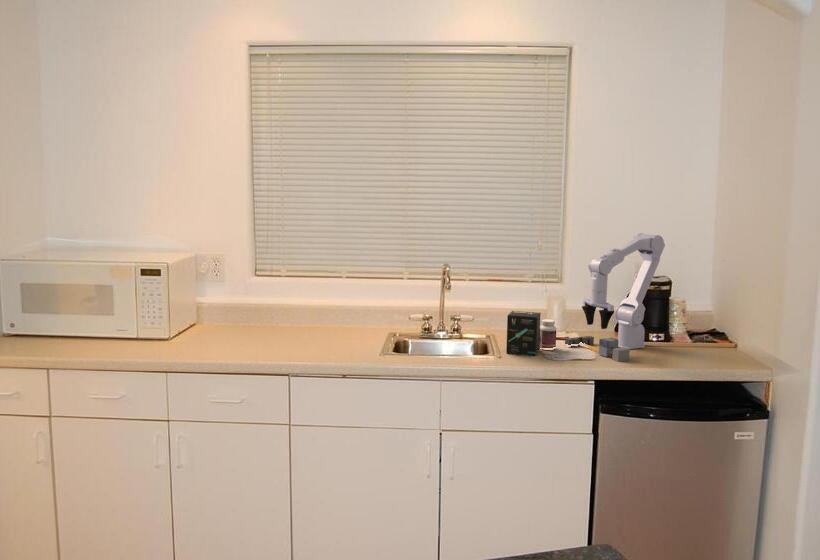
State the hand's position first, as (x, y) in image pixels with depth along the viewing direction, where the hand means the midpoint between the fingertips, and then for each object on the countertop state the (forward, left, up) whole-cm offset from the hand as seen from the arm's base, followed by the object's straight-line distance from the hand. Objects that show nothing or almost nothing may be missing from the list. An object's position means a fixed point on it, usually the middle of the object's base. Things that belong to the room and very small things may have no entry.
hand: (596, 326), depth 266 cm
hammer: (0, +2, -9) cm, 10 cm away
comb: (0, -10, -9) cm, 13 cm away
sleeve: (0, +7, -9) cm, 12 cm away
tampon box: (+26, -10, -10) cm, 29 cm away
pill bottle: (+15, -10, -10) cm, 20 cm away
